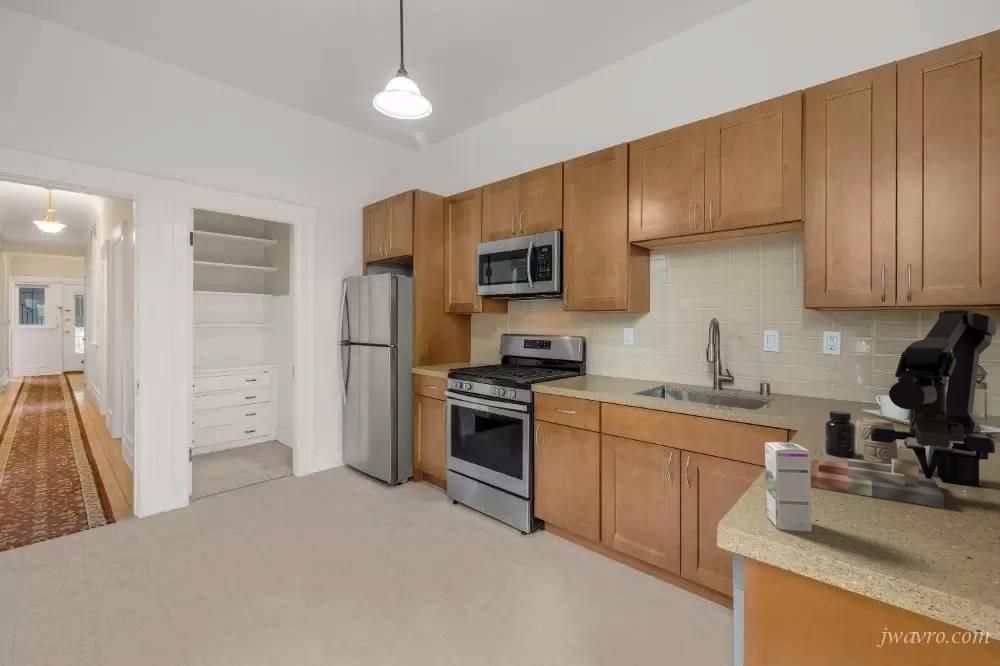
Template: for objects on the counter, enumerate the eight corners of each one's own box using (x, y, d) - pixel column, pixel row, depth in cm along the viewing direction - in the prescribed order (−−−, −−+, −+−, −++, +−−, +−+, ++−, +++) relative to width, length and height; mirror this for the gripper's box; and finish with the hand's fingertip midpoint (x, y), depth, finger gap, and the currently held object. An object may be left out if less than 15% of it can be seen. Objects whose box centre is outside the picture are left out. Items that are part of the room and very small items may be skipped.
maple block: (915, 479, 99) (915, 461, 99) (918, 484, 96) (918, 465, 96) (891, 476, 102) (891, 458, 102) (893, 481, 98) (893, 462, 98)
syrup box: (813, 532, 80) (812, 450, 80) (776, 530, 81) (775, 448, 81) (798, 519, 85) (798, 442, 85) (764, 517, 87) (763, 441, 86)
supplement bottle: (819, 451, 131) (819, 410, 131) (841, 451, 132) (841, 409, 132) (838, 458, 124) (838, 414, 124) (862, 457, 125) (861, 414, 125)
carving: (866, 461, 122) (865, 416, 122) (902, 468, 115) (901, 420, 115) (856, 465, 118) (855, 419, 118) (892, 472, 112) (892, 423, 112)
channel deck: (931, 486, 102) (931, 466, 102) (944, 508, 89) (944, 486, 89) (812, 468, 115) (812, 451, 115) (809, 486, 103) (809, 466, 103)
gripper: (873, 406, 96) (874, 480, 96) (1002, 415, 85) (1003, 499, 85) (869, 399, 105) (870, 467, 105) (986, 406, 94) (987, 482, 94)
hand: (928, 478), depth 97 cm, fingers closed
